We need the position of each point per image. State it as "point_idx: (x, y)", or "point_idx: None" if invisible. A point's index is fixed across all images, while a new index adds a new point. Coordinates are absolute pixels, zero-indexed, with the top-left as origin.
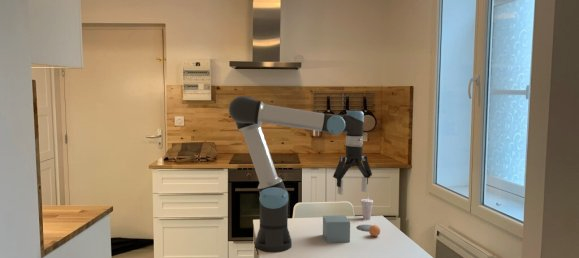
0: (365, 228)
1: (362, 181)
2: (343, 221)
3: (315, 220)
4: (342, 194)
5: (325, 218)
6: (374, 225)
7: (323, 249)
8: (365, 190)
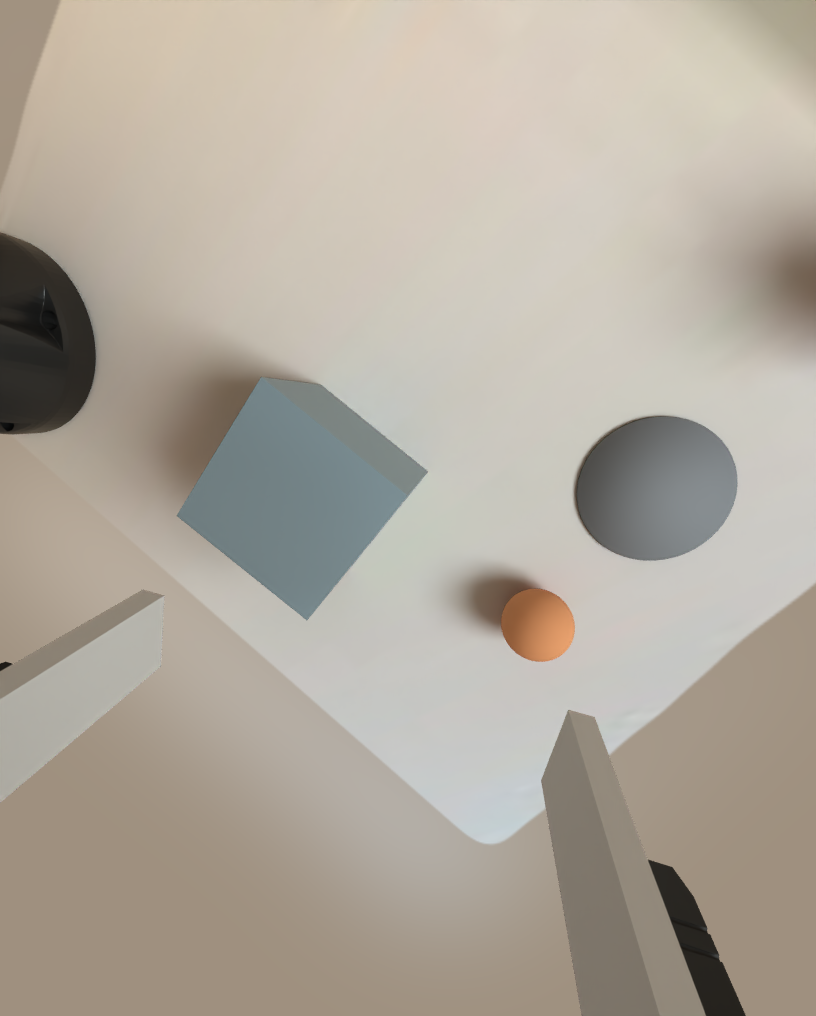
0: (627, 493)
1: (610, 894)
2: (278, 583)
3: (537, 58)
4: (156, 666)
5: (227, 446)
6: (536, 644)
7: (180, 541)
8: (545, 804)
